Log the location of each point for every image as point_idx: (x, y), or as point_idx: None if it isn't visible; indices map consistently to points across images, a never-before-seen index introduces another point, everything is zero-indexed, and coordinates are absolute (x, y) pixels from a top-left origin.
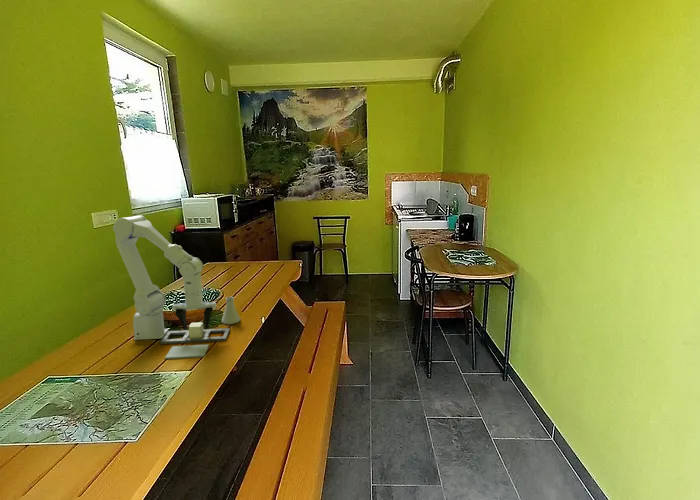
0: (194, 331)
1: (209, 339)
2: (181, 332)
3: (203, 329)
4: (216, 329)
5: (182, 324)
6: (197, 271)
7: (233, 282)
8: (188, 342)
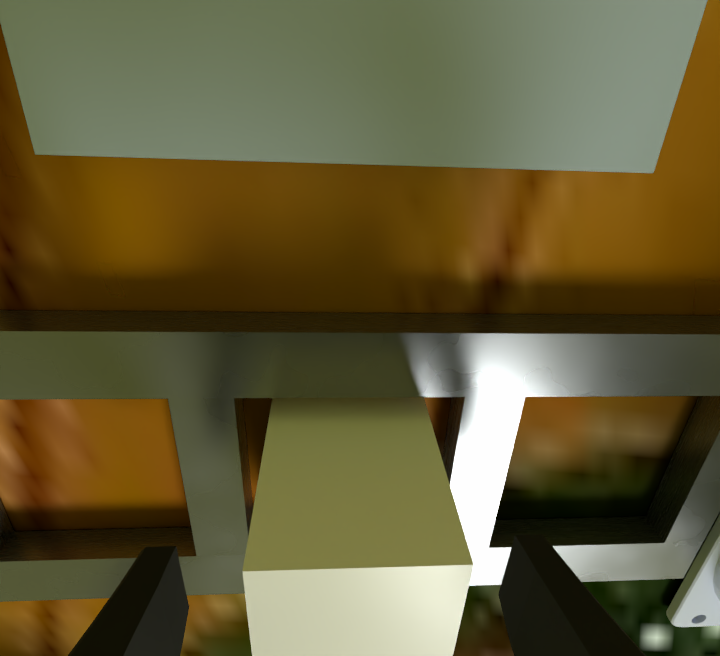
0: (359, 487)
1: (101, 328)
2: None
3: None
4: None
5: (607, 627)
6: None
7: None
8: (423, 317)
